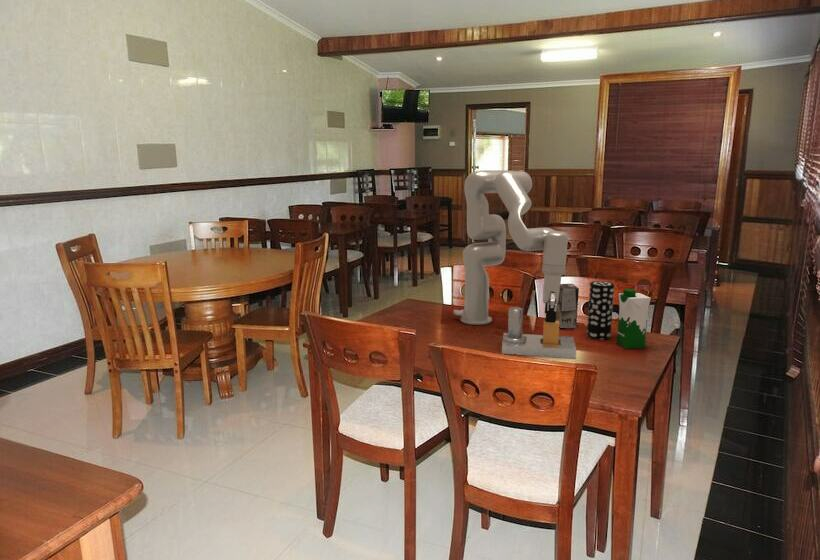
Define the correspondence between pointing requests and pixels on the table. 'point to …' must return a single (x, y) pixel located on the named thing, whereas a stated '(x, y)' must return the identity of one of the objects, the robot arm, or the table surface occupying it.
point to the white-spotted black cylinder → (600, 310)
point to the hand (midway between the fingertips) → (549, 317)
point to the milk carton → (632, 319)
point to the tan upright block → (551, 332)
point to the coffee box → (567, 306)
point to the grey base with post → (533, 340)
